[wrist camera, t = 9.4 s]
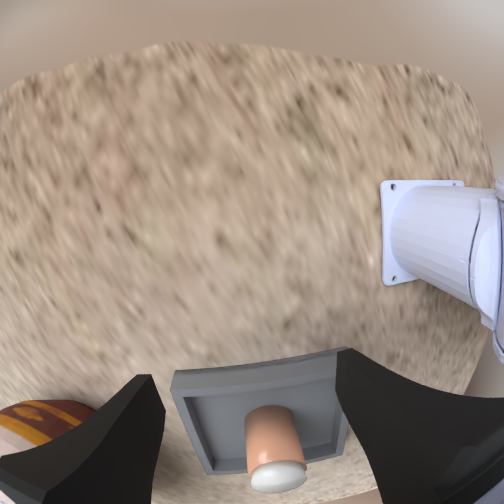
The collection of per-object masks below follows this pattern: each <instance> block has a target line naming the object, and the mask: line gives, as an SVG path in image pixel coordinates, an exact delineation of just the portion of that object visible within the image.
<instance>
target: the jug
mask: <svg viewBox="0 0 504 504" xmlns="http://www.w3.org/2000/svg"><path fill="white" fill-rule="evenodd" d="M95 412H96V411H94V410H93V409H91V408H89V407H87V406H85V405H83V404H81V403H78V402H75V401H71V400H29V401H23V402H20V403H17V404H15V405H12V406H9V407H6V408H4V409H2V410H1V411H0V457H1V456H2V455H8V454H12V453H17V452H21V451H25V450H28V449H31V448H34V447H37V446H39V445H42V444H44V443H47V442H49V441H51V440H53V439H55V438H57V437H59V436H61V435H63V434H65V433H66V432H68V431H70V430H71V429H73V428H74V427H76V426H78V425H79V424H80V423H82V422H83V421H85V420H86V419H87V418H89V417H90V416H91V415H92V414H94V413H95ZM0 500H1V501H2V502H4V503H5V504H16V503H14V502H13V501H12V500H11V499H10V498H9V497H7V496H6V495H5V494H4V493H3V492H2V491H1V490H0Z"/></svg>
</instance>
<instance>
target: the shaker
mask: <svg viewBox="0 0 504 504" xmlns="http://www.w3.org/2000/svg"><path fill="white" fill-rule="evenodd" d="M244 426H245V441H246V455H247V469H248V477H249V479H250V480H251V484H252V487H253V489H255V490H257V491H259V492H264V493H280V492H285V491H289V490H292V489H295V488H297V487H299V486H301V485H302V484H303V483H304V482H305V481H306V478H307V477H306V473H305V471H306V469H307V466H306V462H305V459H304V455H303V451H302V447H301V444H300V440H299V436H298V432H297V429H296V425H295V421H294V417H293V414H292V412H291V411H290V410H289V409H287V408H285V407H283V406H279V405H266V406H262V407H258V408H256V409H254V410H252V411H251V412H250V413H248V415H247V416H246V417H245V420H244Z"/></svg>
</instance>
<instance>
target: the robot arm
mask: <svg viewBox="0 0 504 504" xmlns="http://www.w3.org/2000/svg"><path fill="white" fill-rule="evenodd" d="M391 184H392V185H393V190H391ZM380 193H381V209H382V237H383V266H382V282H383V284H385V285H387V286H390V285H395V284H400V283H404V282H408V281H413V280H417V279H422V280H424V281H426V282H428V283H430V284H432V285H434V286H435V287H437V288H439V289H441V290H443V291H445V292H447V293H448V294H450V295H452V296H454V297H456V298H458V299H459V300H461V301H463V302H465V303H467V304H468V305H470V306H472V307H474V308H475V309H477V310H479V312H480V314H481V324H483V325H484V326H486V327H487V328H489V329H490V330H492V331H493V336H492V343H493V349H494V352H495V354H496V356H497V357H498V359H499V361H500V362H501V363H502V364H503V365H504V171H503V173H502V174H501V176H500V178H499V179H497V181H496V182H495V189H487V188H473V187H464V183H463V182H462V181H459V180H388V181H383V182H382V183H381V185H380ZM393 276H395V278H394V280H392V278H393ZM335 392H336V394H337V397H338V400H339V403H340V405H341V408H342V410H343V412H344V414H345V416H346V418H347V420H348V422H349V424H350V425H351V427H352V429H353V431H354V433H355V435H356V436H357V438H358V440H359V442H360V444H361V446H362V447H363V449H364V451H365V453H366V456H367V458H368V460H369V463H370V466H371V468H372V471H373V474H374V477H375V480H376V482H377V485H378V488H379V491H380V494H381V498H382V502H383V504H504V398H481V397H470V396H463V395H457V394H453V393H448V392H444V391H440V390H436V389H433V388H430V387H427V386H424V385H421V384H419V383H416V382H414V381H411V380H409V379H407V378H405V377H403V376H400V375H398V374H396V373H394V372H392V371H390V370H389V369H387V368H385V367H383V366H381V365H380V364H378V363H376V362H374V361H373V360H371V359H369V358H368V357H366V356H364V355H363V354H361V353H359V352H358V351H356V350H354V349H352V348H350V349H346V350H342V351H338V352H337V365H336V381H335ZM165 413H166V410H165V408H164V405H163V403H162V401H161V398H160V396H159V393H158V391H157V388H156V386H155V383H154V380H153V378H152V375H151V374H137V375H136V376H135V377H134V378H133V379H131V380H130V381H129V382H128V383H127V384H126V385H125V386H124V387H123V388H122V389H121V390H120V391H119V392H118V393H116V394H115V395H114V396H113V397H112V398H111V399H110V400H109V401H108V402H107V403H106V404H104V405H103V406H102V407H101V408H100V409H98V410H97V411H96V412H95V413H94V414H92V415H91V416H90V417H89V418H87V419H86V420H85V421H83V422H82V423H80V424H79V425H78V426H76V427H74V428H73V429H71V430H70V431H68V432H66V433H65V434H63V435H61V436H59V437H57V438H55V439H53V440H51V441H49V442H47V443H44V444H42V445H39V446H37V447H34V448H31V449H28V450H25V451H21V452H17V453H12V454H8V455H2V456H1V457H0V490H1V491H2V492H3V493H4V494H5V495H6V496H7V497H9V498H10V499H11V500H12V501H13V502H14V503H16V504H151V494H152V482H153V476H154V471H155V466H156V462H157V458H158V454H159V449H160V445H161V441H162V437H163V432H164V424H165ZM0 504H5V503H4V502H2V501H1V500H0Z"/></svg>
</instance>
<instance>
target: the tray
mask: <svg viewBox="0 0 504 504" xmlns="http://www.w3.org/2000/svg"><path fill="white" fill-rule="evenodd" d="M342 350H346V347H342V348H337V349H333V350H328V351H324V352H319V353H314V354H309V355H303V356H298V357H292V358H286V359H280V360H274V361H267V362H261V363H253V364H245V365H237V366H228V367H218V368H207V369H193V370H176V371H175V373H174V376H173V380H172V384H171V387H170V391H171V394H172V397H173V399H174V402H175V404H176V407H177V410H178V412H179V414H180V417H181V419H182V422H183V424H184V427H185V429H186V431H187V433H188V436H189V438H190V440H191V442H192V445H193V447H194V449H195V451H196V453H197V455H198V457H199V460H200V462H201V464H202V466H203V468H204V470H205V472H206V474H207V475H224V474H240V473H248V469H247V455H246V441H245V426H244V420H245V417H246V416H247V415H248V413H250V412H251V411H252V410H254V409H256V408H258V407H262V406H266V405H279V406H283V407H285V408H287V409H289V410H290V411H291V412H292V414H293V417H294V421H295V425H296V429H297V432H298V436H299V440H300V444H301V447H302V451H303V455H304V459H305V462H306V464H308V463H312V462H317V461H321V460H325V459H329V458H333V457H337V456H340V455H342V454H343V450H344V445H345V440H346V435H347V429H348V424H349V422H348V420H347V418H346V416H345V414H344V412H343V410H342V408H341V405H340V403H339V400H338V397H337V394H336V392H335V381H336V365H337V352H338V351H342Z"/></svg>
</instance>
